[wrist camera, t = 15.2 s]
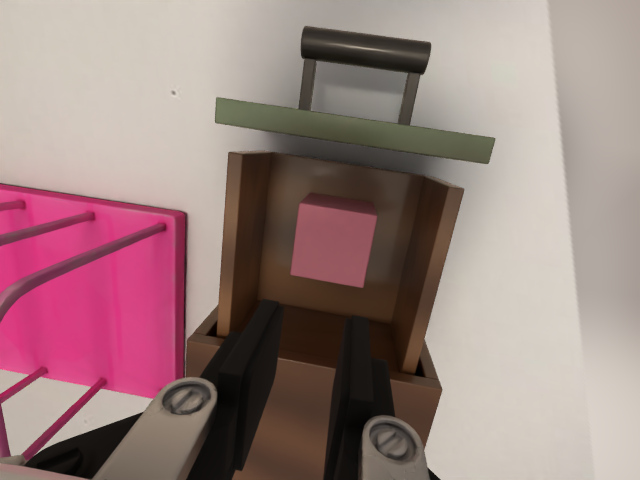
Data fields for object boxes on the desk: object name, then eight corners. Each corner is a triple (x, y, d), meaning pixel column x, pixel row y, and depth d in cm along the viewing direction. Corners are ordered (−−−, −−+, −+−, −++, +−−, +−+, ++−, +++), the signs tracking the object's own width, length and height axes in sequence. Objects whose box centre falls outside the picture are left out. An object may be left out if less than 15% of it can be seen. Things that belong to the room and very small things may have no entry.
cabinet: (239, 279, 28) (186, 340, 19) (415, 310, 27) (443, 389, 18) (227, 426, 32) (179, 530, 24) (377, 458, 31) (385, 578, 23)
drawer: (264, 43, 22) (221, -5, 15) (469, 71, 21) (525, 34, 14) (242, 299, 27) (202, 351, 20) (405, 329, 26) (423, 395, 19)
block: (309, 192, 23) (298, 202, 19) (373, 202, 23) (377, 215, 19) (301, 252, 24) (289, 275, 20) (362, 263, 24) (363, 288, 20)
